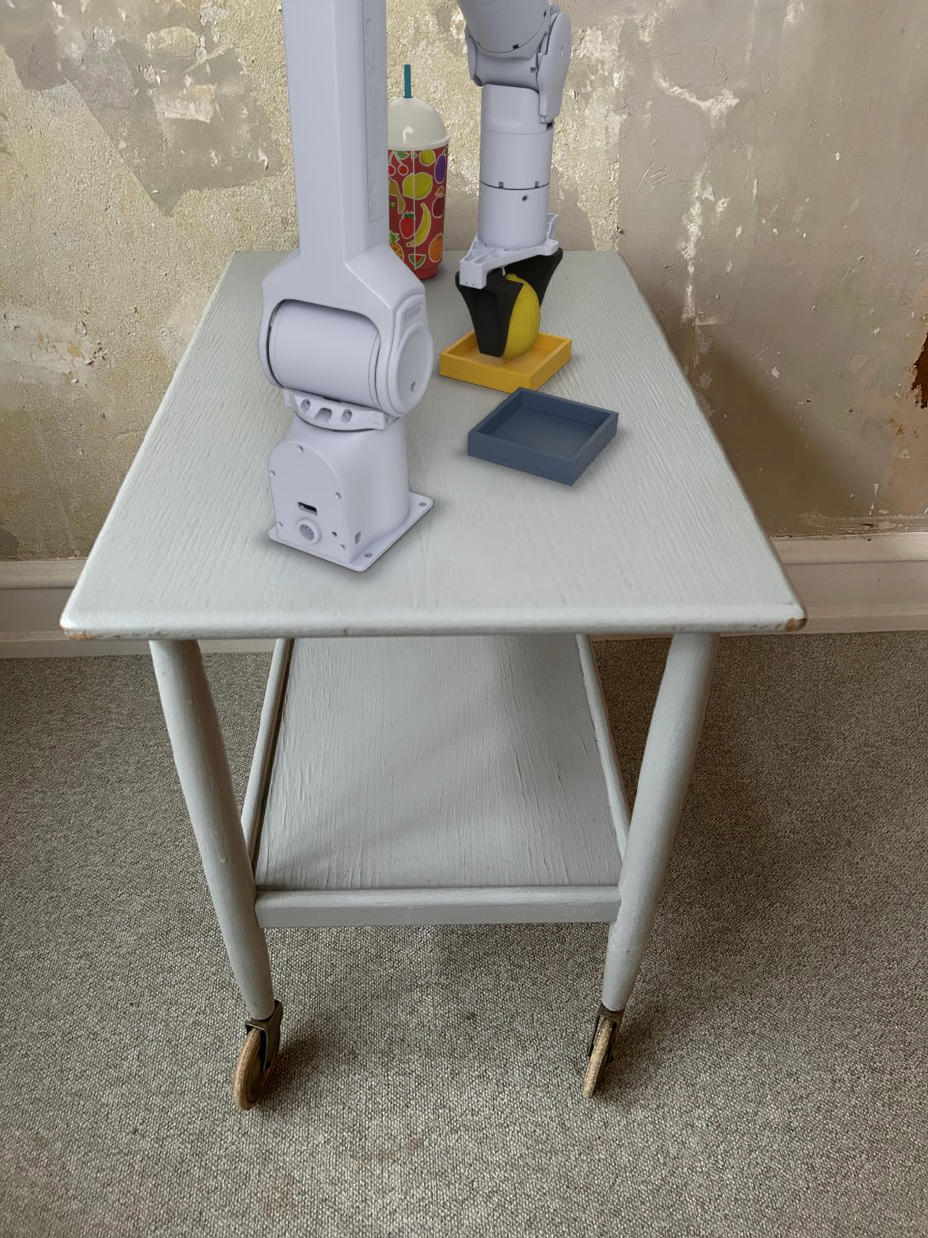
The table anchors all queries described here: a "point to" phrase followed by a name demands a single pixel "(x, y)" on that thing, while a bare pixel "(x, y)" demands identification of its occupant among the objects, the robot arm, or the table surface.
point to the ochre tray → (505, 363)
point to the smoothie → (416, 181)
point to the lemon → (522, 322)
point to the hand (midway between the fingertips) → (507, 341)
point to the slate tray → (543, 435)
